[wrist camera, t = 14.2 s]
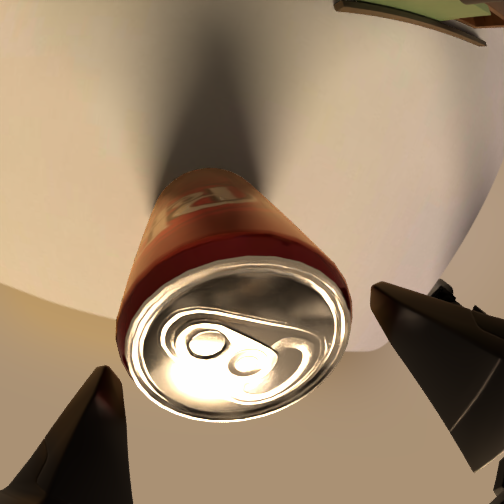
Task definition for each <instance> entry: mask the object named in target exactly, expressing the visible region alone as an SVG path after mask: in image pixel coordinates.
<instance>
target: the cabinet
mask: <svg viewBox="0 0 504 504" xmlns="http://www.w3.org/2000/svg"><path fill="white" fill-rule="evenodd" d="M485 4H487V5H488V7H489V10H490V13H491V15H487V16H475V17H466V18H459V19H454V20H457V21H459V22H461V23H464V24H466V25H468V26H470V27H472V28H474V29H476V28H498V27H504V1H502V2H489V3H485ZM334 7H335V10H336V11H339V12H349V13H357V14H365V15H372V16H378V17H383V18H389V19H394V20H398V21H403V22H407V23H411V24H415V25H419V26H423V27H426V28H430V29H433V30H436V31H439V32H443V33H446V34H448V35H451V36H454V37H457V38H460V39H462V40H465V41H467V42H470V43H472V44H475V45H477V46H487V45H486V42H485V41H483V40H481V39H479V38H477V37H475V36H472V35H470V34H468V33H466V32H463V31H461V30H458V29H456V28H453V27H451V26H448V25H445V24H443V23H440V22H437V21H434V20H431V19H428V18H425V17H421V16H418V15H415V14H411V13H407V12H404V11H400V10H396V9H391V8H387V7H382V6H377V5H372V4H366V3H360V2H353V1H345V0H341V1H339V2H338V3H336V4H335V5H334Z"/></svg>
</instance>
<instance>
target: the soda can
mask: <svg viewBox="0 0 504 504" xmlns="http://www.w3.org/2000/svg"><path fill="white" fill-rule="evenodd" d="M351 323H352V300H351V296H350V293H349V289H348V286H347V283H346V280H345V278H344V277H343V275H342V274H341V272H340V271H339V269H338V268H337V266H336V265H335V263H334V262H333V261H332V260H331V259H330V258H329V257H328V256H327V255H326V254H325V253H324V252H323V251H322V250H320V249H319V248H318V247H317V246H316V245H315V244H314V243H313V242H312V241H311V240H310V239H309V238H308V237H307V236H306V235H305V234H304V233H303V232H302V231H301V230H300V229H299V228H298V227H297V226H296V225H295V224H293V223H292V222H291V221H290V220H289V219H288V218H287V217H286V216H285V215H284V214H283V213H282V212H281V211H280V210H279V209H277V208H276V207H275V206H274V205H273V204H272V203H271V202H270V201H269V200H268V199H267V198H266V197H264V196H263V195H262V194H261V193H260V192H259V191H258V190H257V189H256V188H254V187H253V186H252V185H251V184H250V183H249V182H247V181H246V180H245V179H244V178H243V177H241V176H239V175H237V174H235V173H233V172H231V171H227V170H224V169H219V168H203V169H196V170H193V171H190V172H187V173H184V174H183V175H181V176H179V177H178V178H176V179H174V180H173V181H172V182H171V183H170V184H169V185H168V186H167V187H166V188H165V189H164V190H163V192H162V193H161V194H160V196H159V197H158V199H157V201H156V204H155V206H154V208H153V211H152V213H151V216H150V218H149V221H148V224H147V226H146V229H145V232H144V234H143V237H142V240H141V243H140V245H139V248H138V251H137V254H136V257H135V260H134V263H133V266H132V269H131V272H130V275H129V278H128V281H127V285H126V288H125V291H124V295H123V298H122V301H121V305H120V308H119V312H118V316H117V319H116V342H117V347H118V351H119V354H120V358H121V361H122V363H123V365H124V367H125V369H126V371H127V372H128V374H129V376H130V377H131V378H132V379H133V381H135V383H136V385H137V386H138V387H139V388H140V389H141V390H142V391H143V392H144V393H145V395H146V396H147V397H148V398H150V399H151V400H153V401H154V402H155V403H157V404H158V405H160V406H161V407H163V408H165V409H167V410H169V411H171V412H173V413H175V414H178V415H181V416H185V417H188V418H191V419H197V420H203V421H211V422H212V421H213V422H231V421H242V420H248V419H253V418H258V417H262V416H265V415H268V414H271V413H274V412H277V411H279V410H281V409H284V408H286V407H288V406H290V405H292V404H294V403H296V402H297V401H299V400H301V399H302V398H304V397H305V396H307V395H308V394H310V393H311V392H312V391H313V390H315V389H316V388H317V387H318V386H319V385H321V384H322V382H323V381H325V379H326V378H327V377H328V376H329V375H330V374H331V373H332V372H333V370H334V369H335V367H336V366H337V364H338V363H339V361H340V360H341V358H342V356H343V354H344V351H345V349H346V347H347V344H348V340H349V335H350V330H351Z"/></svg>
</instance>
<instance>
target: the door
mask: <svg viewBox="0 0 504 504" xmlns="http://www.w3.org/2000/svg"><path fill="white" fill-rule="evenodd" d="M356 1H357V2H360V3H366V4H372V5H377V6H382V7H387V8H391V9H396V10H400V11H404V12H407V13H411V14H415V15H418V16H421V17H425V18H428V19H431V20H434V21H437V22H440V21H446V20H452V19H459V18H466V17H475V16H487V15H491V13H490V10H489V7H488V5H487V4H485V3H489V2H502V1H504V0H356Z"/></svg>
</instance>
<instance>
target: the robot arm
mask: <svg viewBox="0 0 504 504" xmlns="http://www.w3.org/2000/svg"><path fill="white" fill-rule="evenodd" d="M370 307H371V310H372V312H373V314H374V315H375V317H376V319H377V321H378V322H379V324H380V326H381V328H382V329H383V331H384V333H385V335H386V336H387V338H388V340H389V342H390V343H391V345H392V346H393V348H394V349H395V351H396V352H397V353H398V355H399V356H400V358H401V359H402V360H403V362H404V363H405V365H406V366H407V367H408V369H409V371H410V372H411V373H412V375H413V376H414V378H415V379H416V381H417V382H418V384H419V385H420V387H421V388H422V390H423V391H424V393H425V394H426V396H427V397H428V399H429V400H430V402H431V403H432V404H433V406H434V408H435V409H436V411H437V412H438V414H439V416H440V417H441V419H442V420H443V422H444V423H445V425H446V427H447V428H448V430H449V431H450V433H451V435H452V436H453V438H454V440H455V441H456V443H457V445H458V447H459V448H460V450H461V452H462V453H463V455H464V457H465V459H466V460H467V462H468V464H469V466H470V467H471V469H472V471H473V472H474V473H476V472H477V471H479V470H480V469H482V468H483V467H484V466H486V465H487V464H488V463H490V462H491V461H493V460H494V459H495V458H497V457H498V456H499V455H501V454H502V453H503V452H504V319H501V318H496V317H493V316H489V315H487V314H486V313H485V312H484V311H482V310H481V309H480V308H478V307H477V306H476V305H475V306H474V307H473V310H470V309H467V308H464V307H463V306H462V305H460V304H459V303H458V302H457V301H456V297H455V296H454V295H452V294H451V293H450V292H449V291H448V290H447V289H446V288H444V287H443V286H442V285H441V286H439V288H438V289H437V291H436V292H435V294H434V295H433V297H430V296H427V295H424V294H421V293H418V292H415V291H412V290H409V289H405V288H402V287H399V286H396V285H393V284H390V283H386V282H383V281H382V282H379V283H376V284H374V285H372V287H371V296H370ZM493 491H494V493H495V494H496V496H497V497H496V498H495V499H494V500H493V501H492V502H491V503H490V504H504V457H503V458H502V459H501V460H500V461H499V466H498V471H497V476H496V481H495V485H494V489H493ZM0 504H133V499H132V491H131V483H130V473H129V461H128V447H127V425H126V416H125V408H124V399H123V389H122V383H121V381H120V380H119V378H118V377H117V376H116V375H115V373H114V372H113V371H112V370H111V368H110V367H109V366H106V365H105V366H100V367H97V368H96V369H95V370H94V371H93V373H92V374H91V375H90V377H89V378H88V379H87V380H86V382H85V383H84V385H83V386H82V387H81V388H80V390H79V391H78V392H77V394H76V395H75V396H74V398H73V399H72V400H71V402H70V403H69V404H68V406H67V407H66V408H65V410H64V411H63V413H62V414H61V415H60V417H59V418H58V420H57V421H56V422H55V424H54V425H53V427H52V428H51V429H50V431H49V432H48V434H47V435H46V437H45V439H43V441H42V442H41V444H40V445H39V447H38V448H37V450H36V451H35V452H34V454H33V455H32V457H31V458H30V459H29V460H28V462H27V463H26V464H25V466H24V467H23V468H22V469H21V471H20V472H19V473H18V474H17V476H16V477H15V478H14V480H13V481H12V482H11V483H10V484H9V486H7V487H6V488H4V489H3V490H0Z"/></svg>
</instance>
